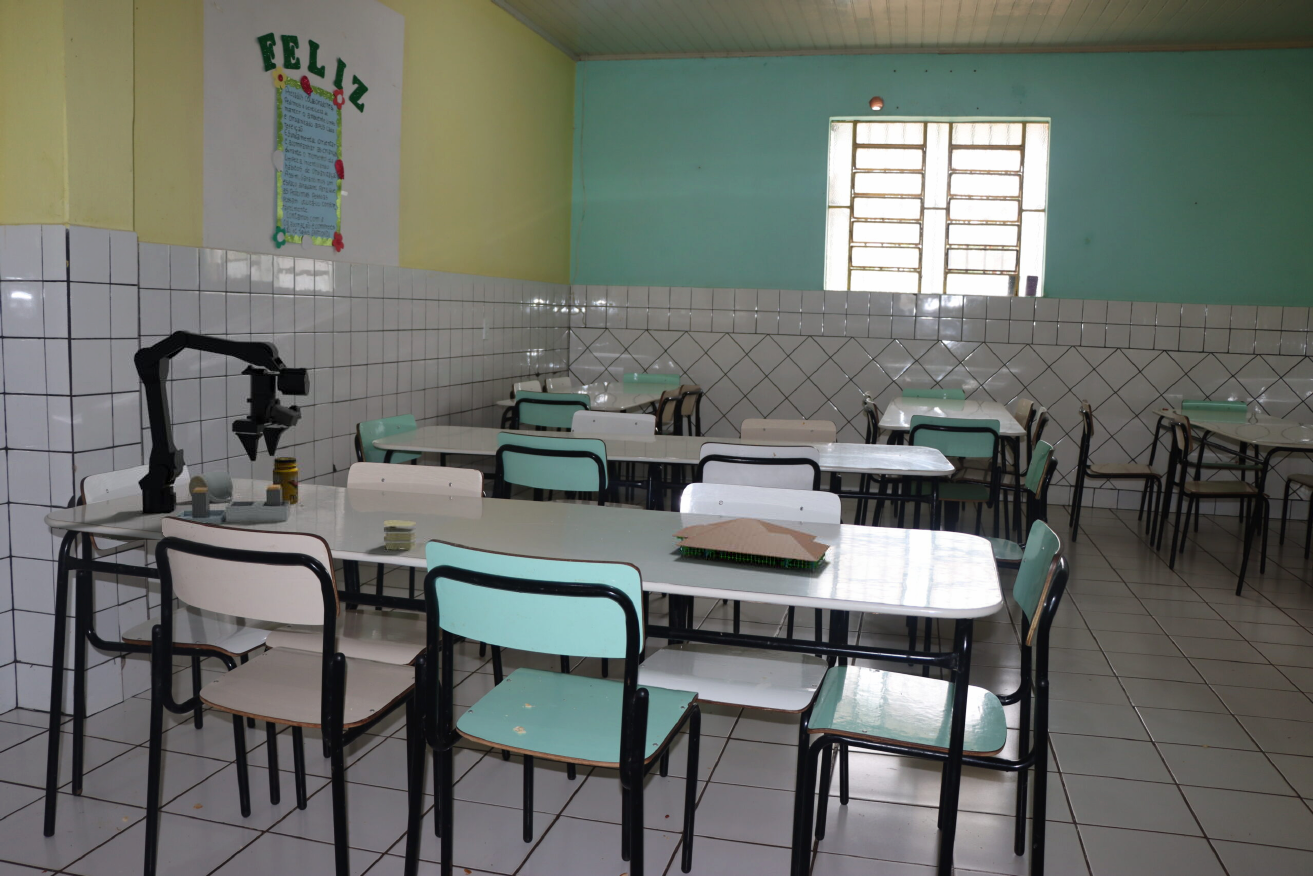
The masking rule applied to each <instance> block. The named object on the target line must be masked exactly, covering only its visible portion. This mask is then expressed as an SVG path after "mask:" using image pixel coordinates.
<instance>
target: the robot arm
mask: <svg viewBox="0 0 1313 876" xmlns="http://www.w3.org/2000/svg"><path fill="white" fill-rule="evenodd" d="M184 349H190V350H195V351H196V350H197V351H201V352H207V353H213V354H218V355H224V356H228V357H233V358H236V359H238V360H241V361H243V362H245V363H247V364H248V365H247V367H246V368H244V369H243V370H242V371H241V375H243V376H244V375H245V376H250V383H249V384H250V397H249V398H248V397H247V398H246V403H248V404H250V406H249V408H250V410H249V411H250V413H249V414H248V415H246V418H240V419H235V420H234V421H233V422H232V423H231V432H232V433H234V435H235V436H237V437H238V439H239V441H240V442H241V445H242V446H243V448H244V450H245V453H246V454H247V456H248V458H249V460H250V462H256V461H257V456H258V450H259V441H260V439H261V438H264V441H265V445H266V449H267V452H268V455H269V457H274V456H275V455H276V452H277V448H278V445H279V443H280V440H281V437H282V434H284V433H285V432H286V431H288V430H289V429H290V428H291V427H296V426H297V424H298V421H299V420H301V419H302V412H301V406H300V405H297V404H293V405H292V404H291V405H290V406H289V407H288V406H285V405H281V399H280V398H279V397H278V398H277V391H279V392H281V394H282V396H299V397H300V396H302V397H308V396H309V394H310V385H311V381H310V378H309V374H308V367H287V365H286V364H285V362H284V361H283V360H282V358H281V357H280V356H279V350H278V348H277V346H276V345H275V344H274V343H273V342H270V341H262V340H261V341H260V340H259V341H258V340H257V341H253V340H251V341H250V340H249V341H248V340H247V341H246V340H242V341H241V340H240V341H239V340H234V339H228V338H224V337H217V336H212V335H208V334H201V333H197V332H191V331H189V330H187V329H185V330H182V329H181V330H175V331H174V332H172V334H170V335H169V336H167V337H165V338H164V339H162V340H160V341H158V342H157V343H154V344H153V345H151V346H146V347H142V348H140V349H138V350H137V351H136V352H135V353H134V356H133V362H134V365H135V369H136V372H137V375H138V377H139V379H140V380H141V382H142V384H143V386H144V390H145V392H144V393H145V399H146V406H147V413H148V420H149V428H150V435H151V437H150V439H151V445H152V446H151V450H150V455H149V459H148V472H147V473H146V474H145V475H144V476H143V477H142V478H141V479H139V480H138V482H137V483H138V486H139V488H140V490H141V498H142V499H141V500H142V511H141V512H140V515H145V514H146V515H149V514H151V515H154V514H158V515H159V514H161V515H162V514H172V512H175V510H177V507H178V506H177V492H176V491H174V484H175V482H176V480H177V478H179V477H180V476H181V475H182V473H183V471H184V467H185V466H186V465H187V464H186V462H185V459H184V458H185V457H184V456H185V455H184V454H185V451H184V448H180V449H177V446H176V445H175V443H174V441H173V440H174V438H173V432H172V423H171V415H170V407H169V400H168V399H169V398H168V393H167V391H168V390H167V380H168V376H169V374H170V373H169V372H170V361H171V359H173V358H175V357H177V356H178V355H179V354H180V353H181V352H183V351H184ZM253 365H254V366H256V367H254V366H253ZM260 367H261V368H260ZM263 367H264V368H263Z"/></svg>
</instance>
